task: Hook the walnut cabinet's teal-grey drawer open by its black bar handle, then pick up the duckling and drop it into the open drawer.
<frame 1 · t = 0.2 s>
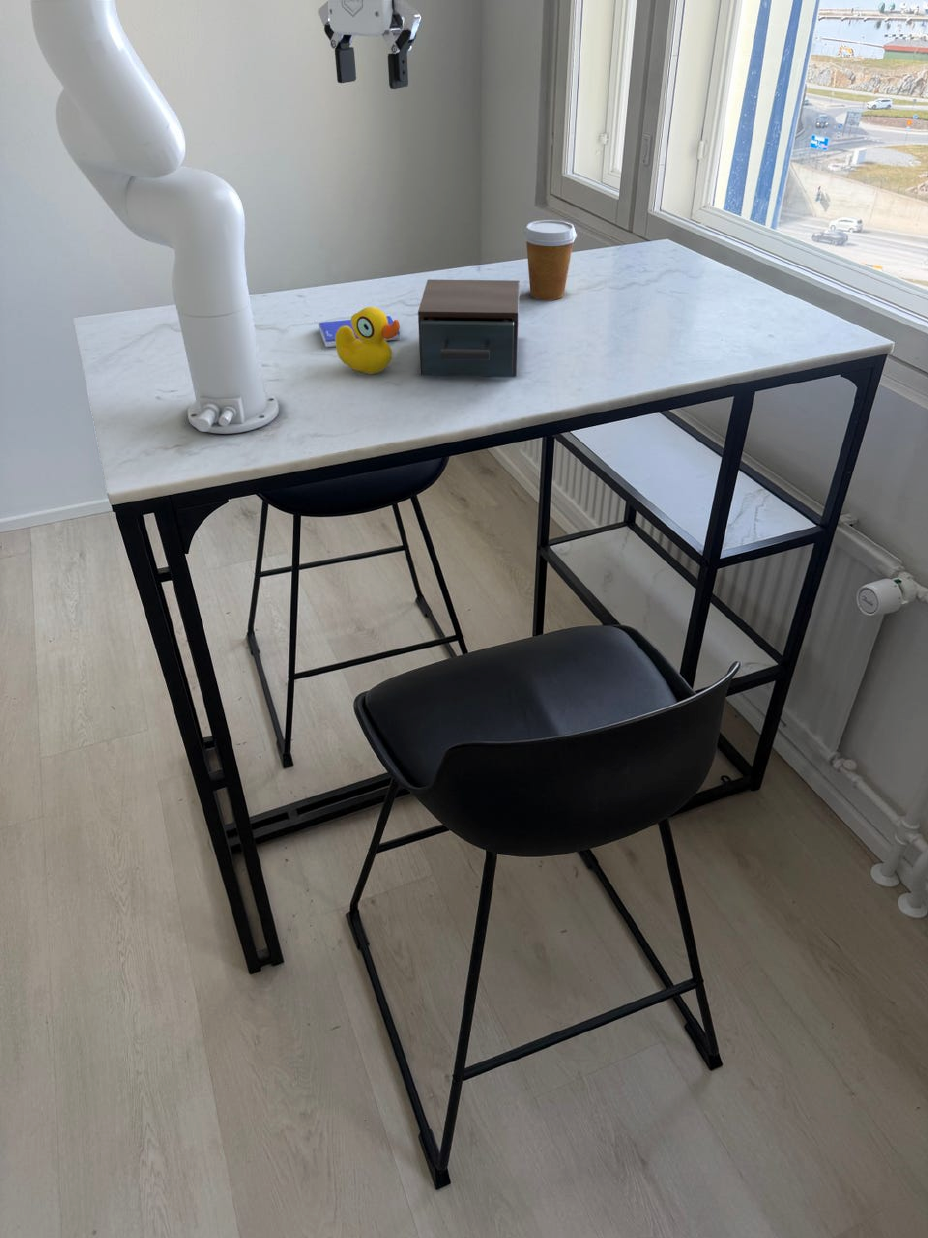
hand: (372, 84, 120), 37 cm above the table, tool pointing down, fingers open, 9 cm apart
drawer: (468, 339, 132), point 5 cm above the table, slide at 1.0 cm
hard drive: (359, 336, 147), on the table
cabinet: (471, 356, 139), on the table
duckling: (369, 372, 135), on the table
disposable coffee cup: (546, 295, 162), on the table
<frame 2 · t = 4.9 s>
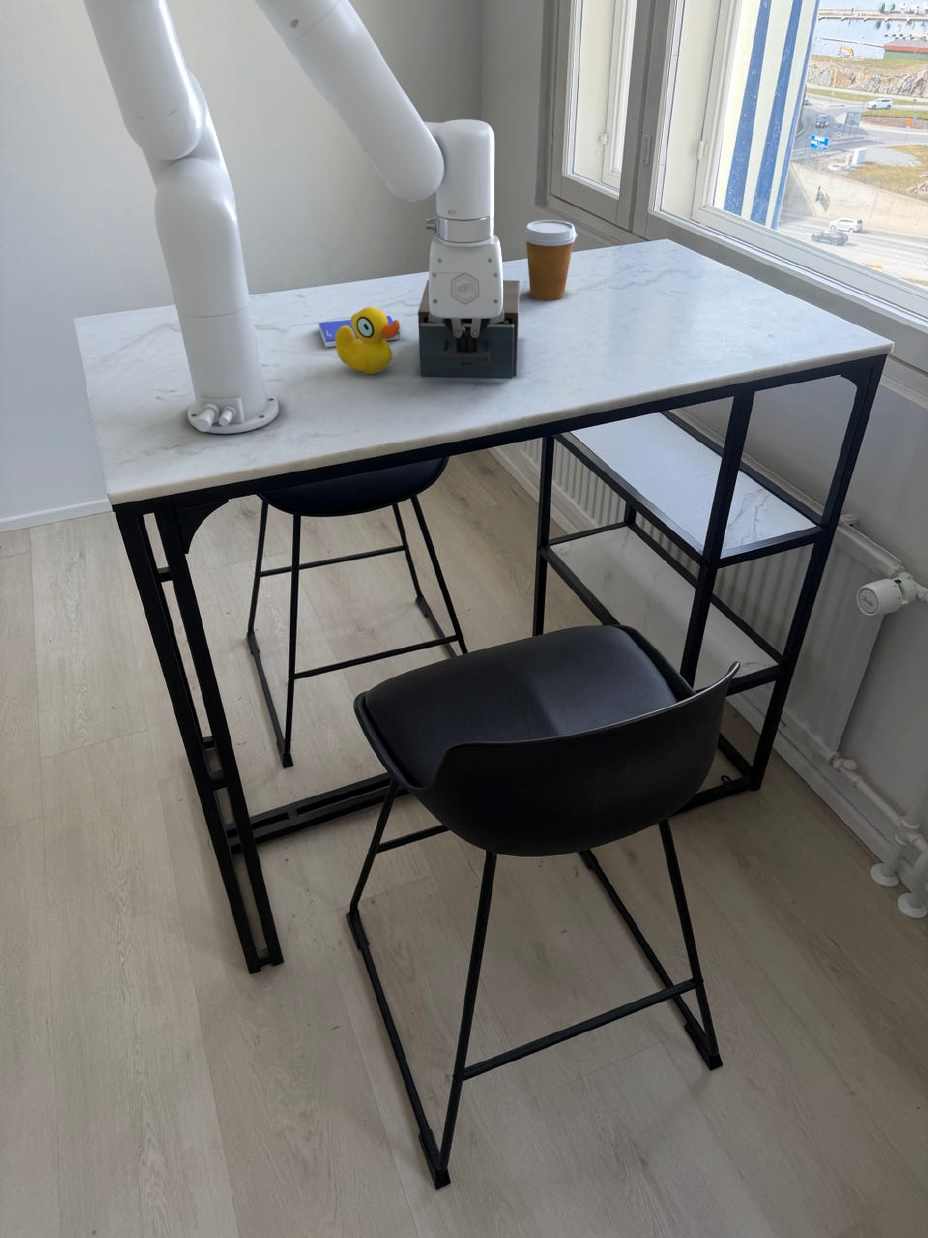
hand: (467, 360, 126), 5 cm above the table, tool pointing down, fingers closed
drawer: (468, 341, 131), point 5 cm above the table, slide at 1.9 cm
everything else where it was.
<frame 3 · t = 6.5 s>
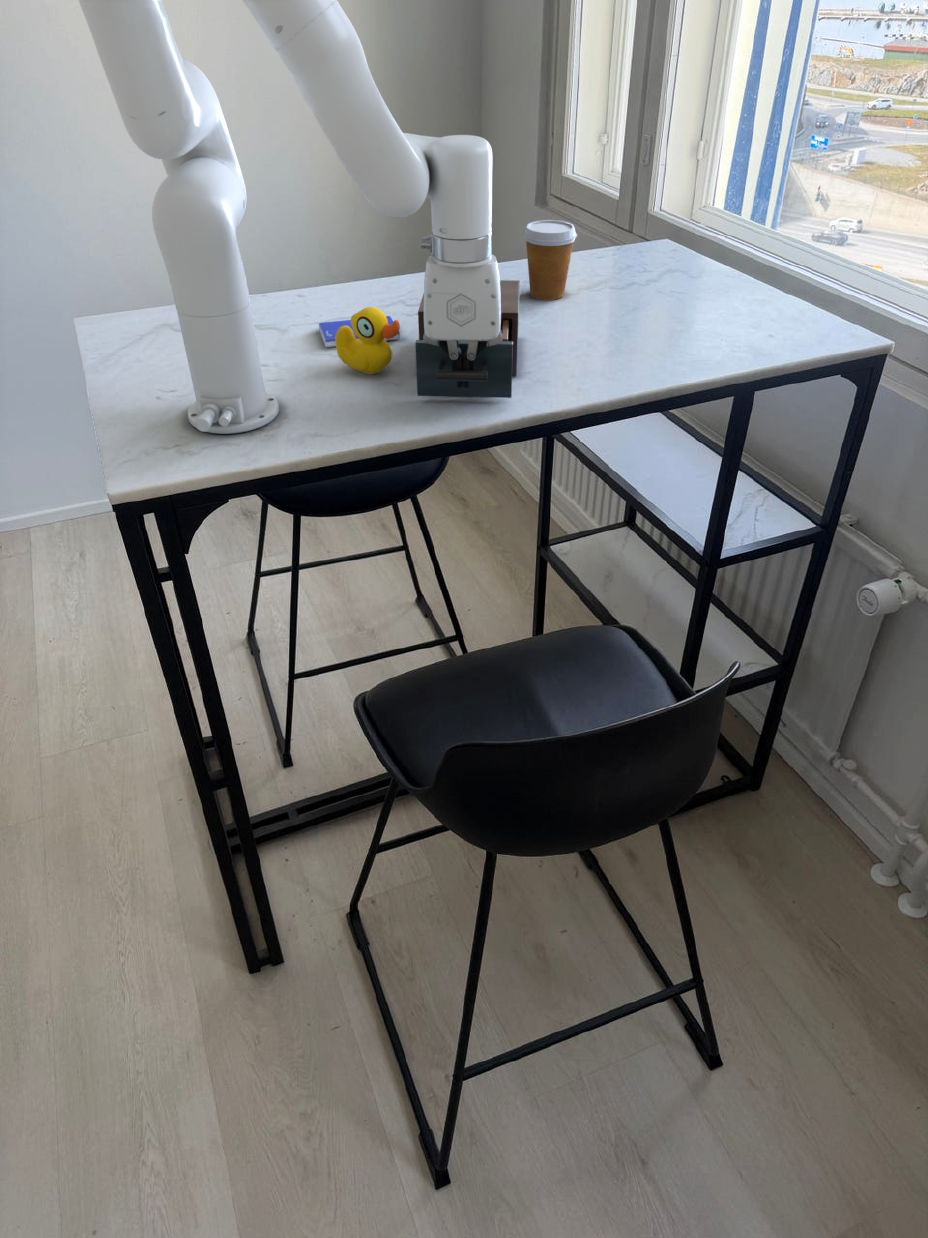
hand: (463, 383, 121), 4 cm above the table, tool pointing down, fingers closed
drawer: (465, 359, 126), point 5 cm above the table, slide at 8.6 cm, touching gripper
everything else where it was.
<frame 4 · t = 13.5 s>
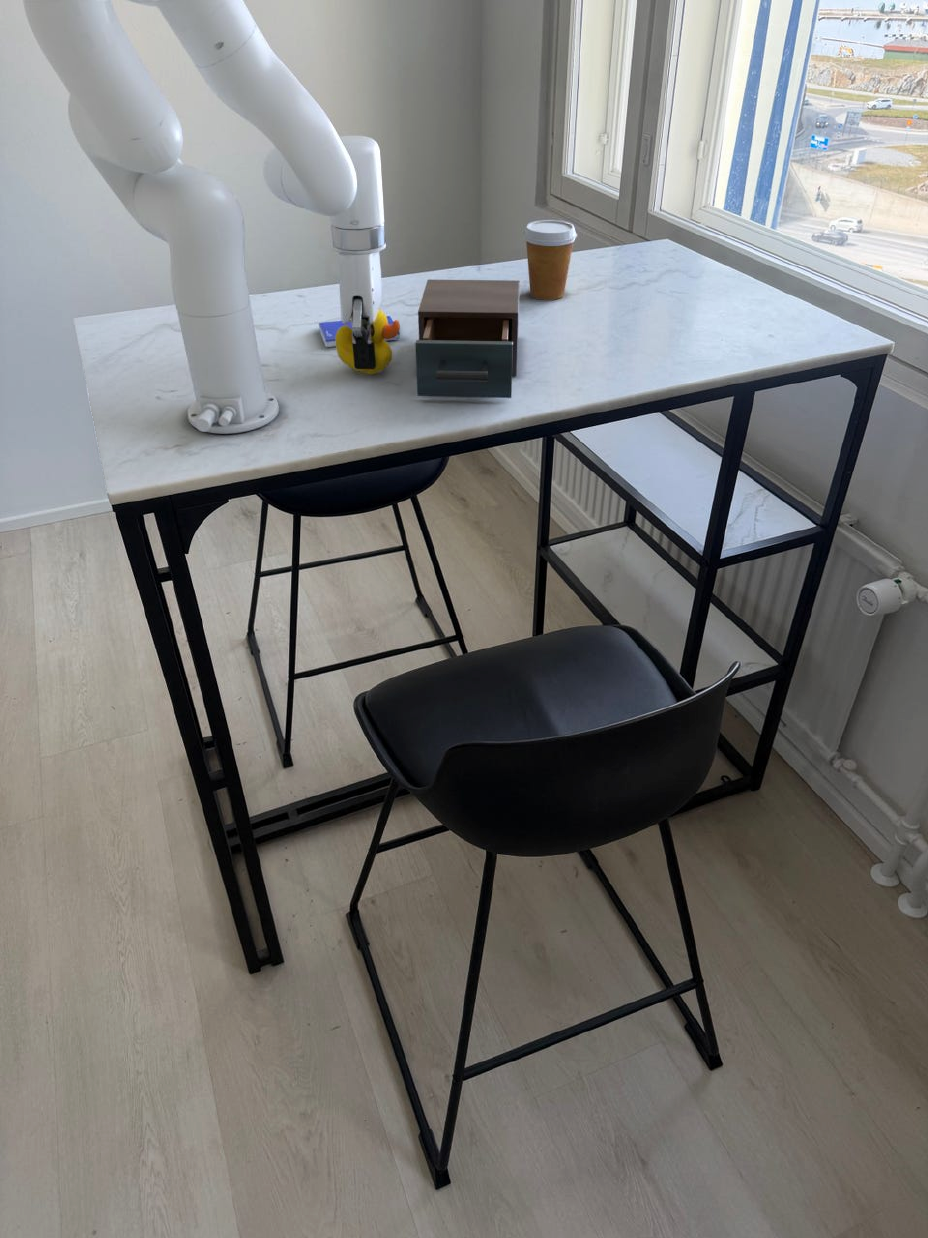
hand: (368, 358, 133), 2 cm above the table, tool pointing down, fingers closed on duckling, 6 cm apart
drawer: (465, 359, 126), point 5 cm above the table, slide at 8.6 cm
duckling: (369, 373, 135), on the table, touching gripper
everything else where it was.
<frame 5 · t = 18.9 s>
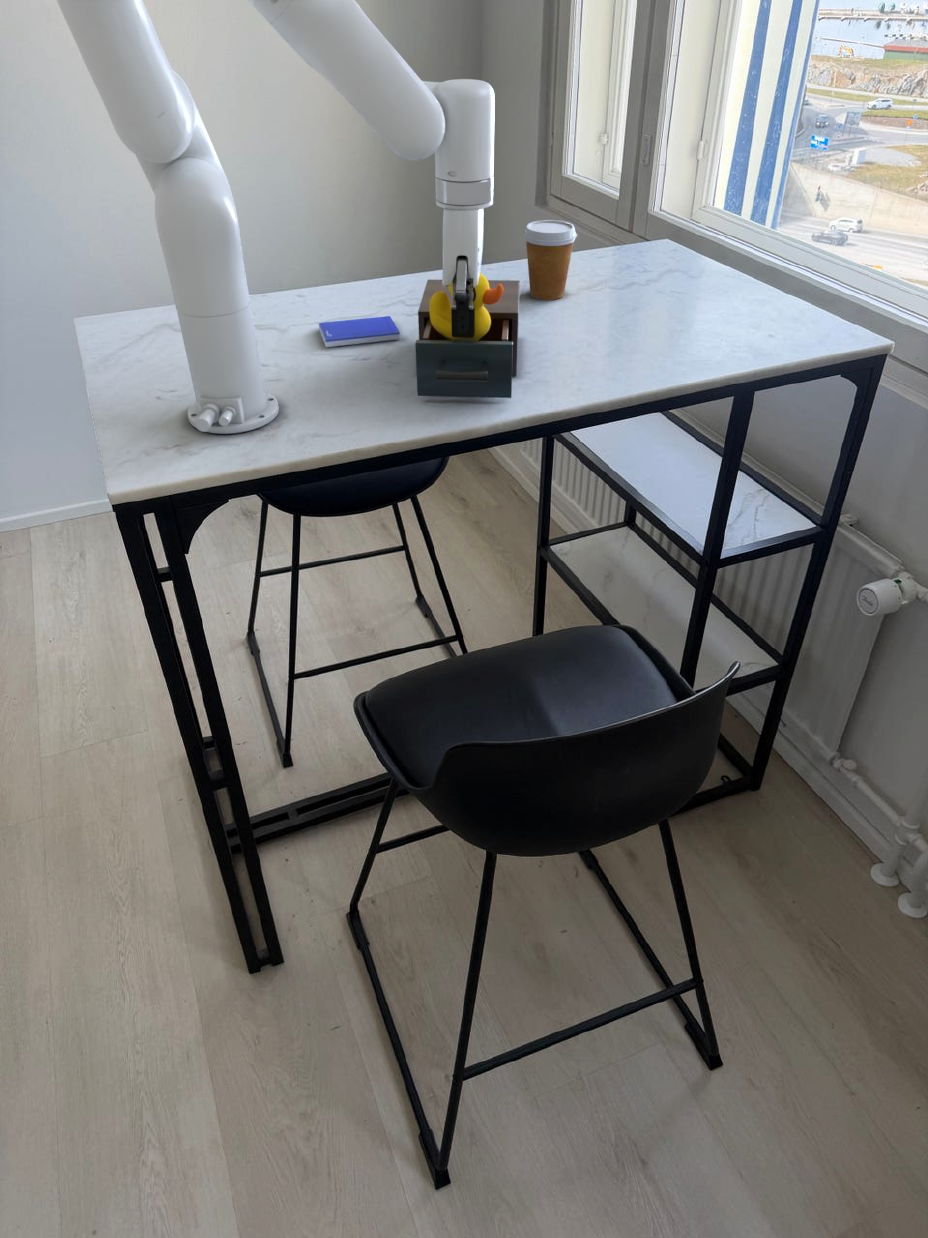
hand: (464, 326, 124), 9 cm above the table, tool pointing down, fingers closed on duckling, 6 cm apart
duckling: (464, 342, 125), point 7 cm above the table, touching gripper
everything else where it was.
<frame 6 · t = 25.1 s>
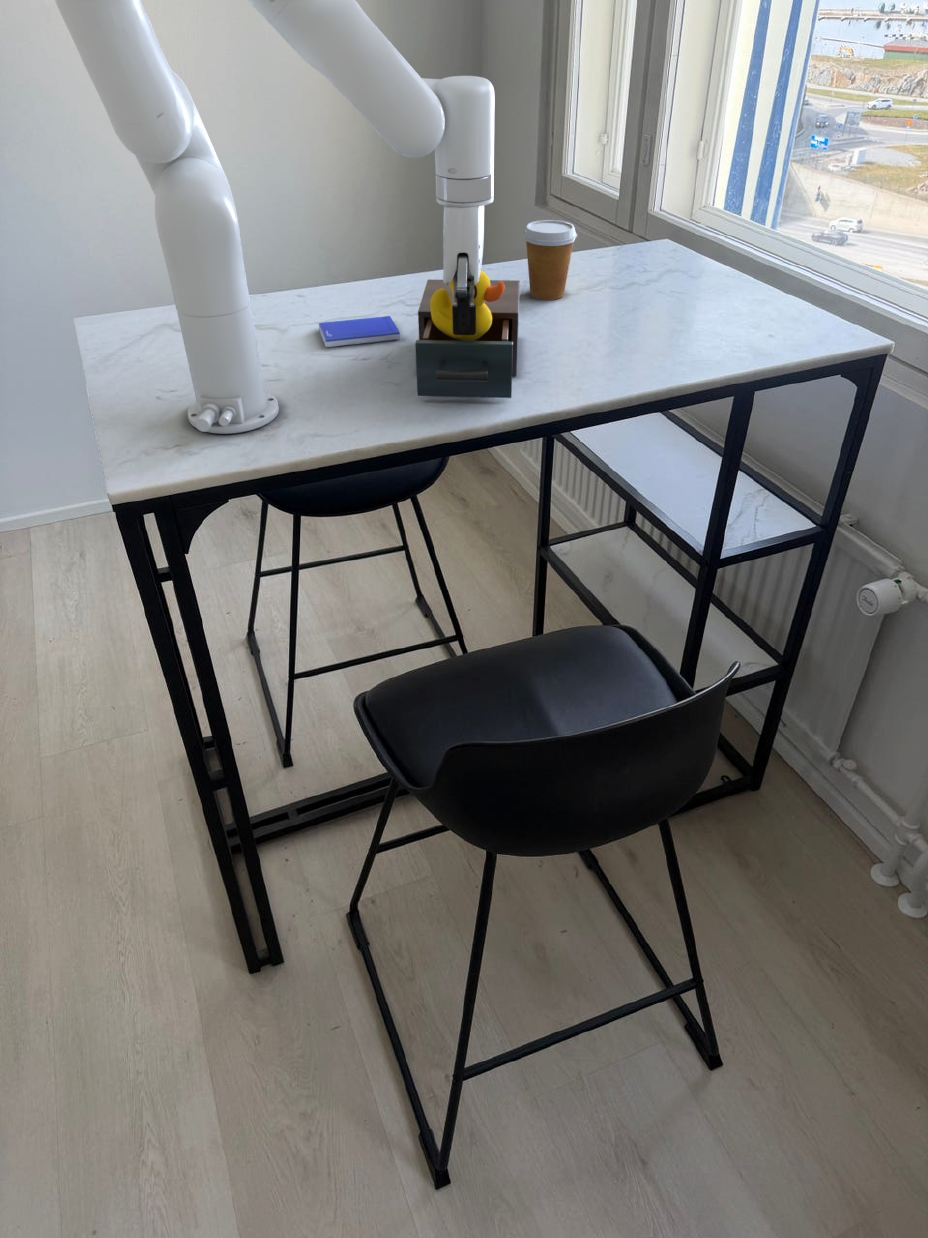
hand: (465, 324, 124), 10 cm above the table, tool pointing down, fingers closed on duckling, 5 cm apart
duckling: (465, 340, 125), point 7 cm above the table, touching gripper
everything else where it was.
when the fingers open (11 cm above the table, at t = 30.9 s): duckling drops 7 cm, resting on drawer.
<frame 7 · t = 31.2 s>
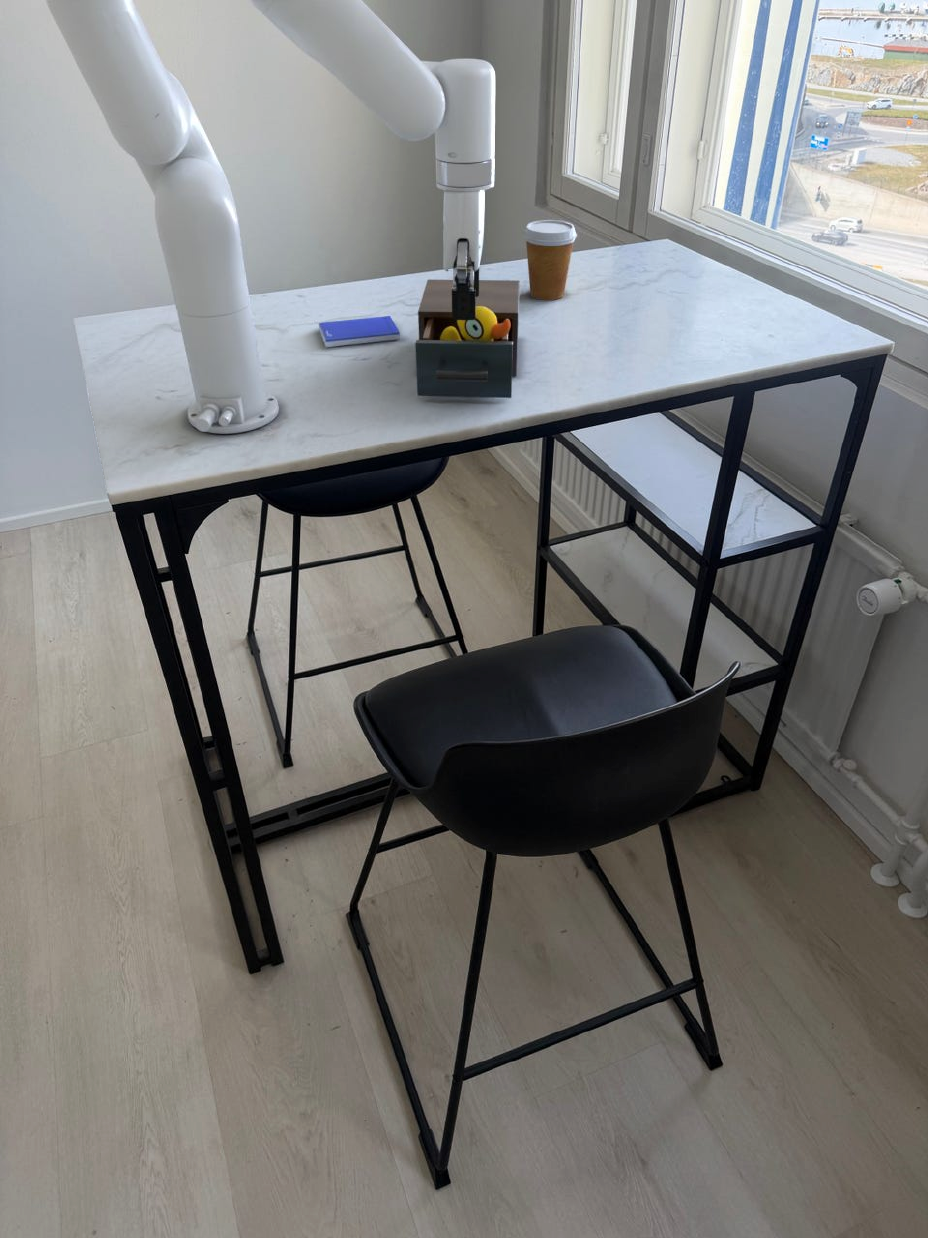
hand: (466, 307, 122), 12 cm above the table, tool pointing down, fingers open, 9 cm apart
drawer: (465, 359, 126), point 5 cm above the table, slide at 8.6 cm, touching duckling
duckling: (475, 375, 128), point 2 cm above the table, touching drawer
everything else where it was.
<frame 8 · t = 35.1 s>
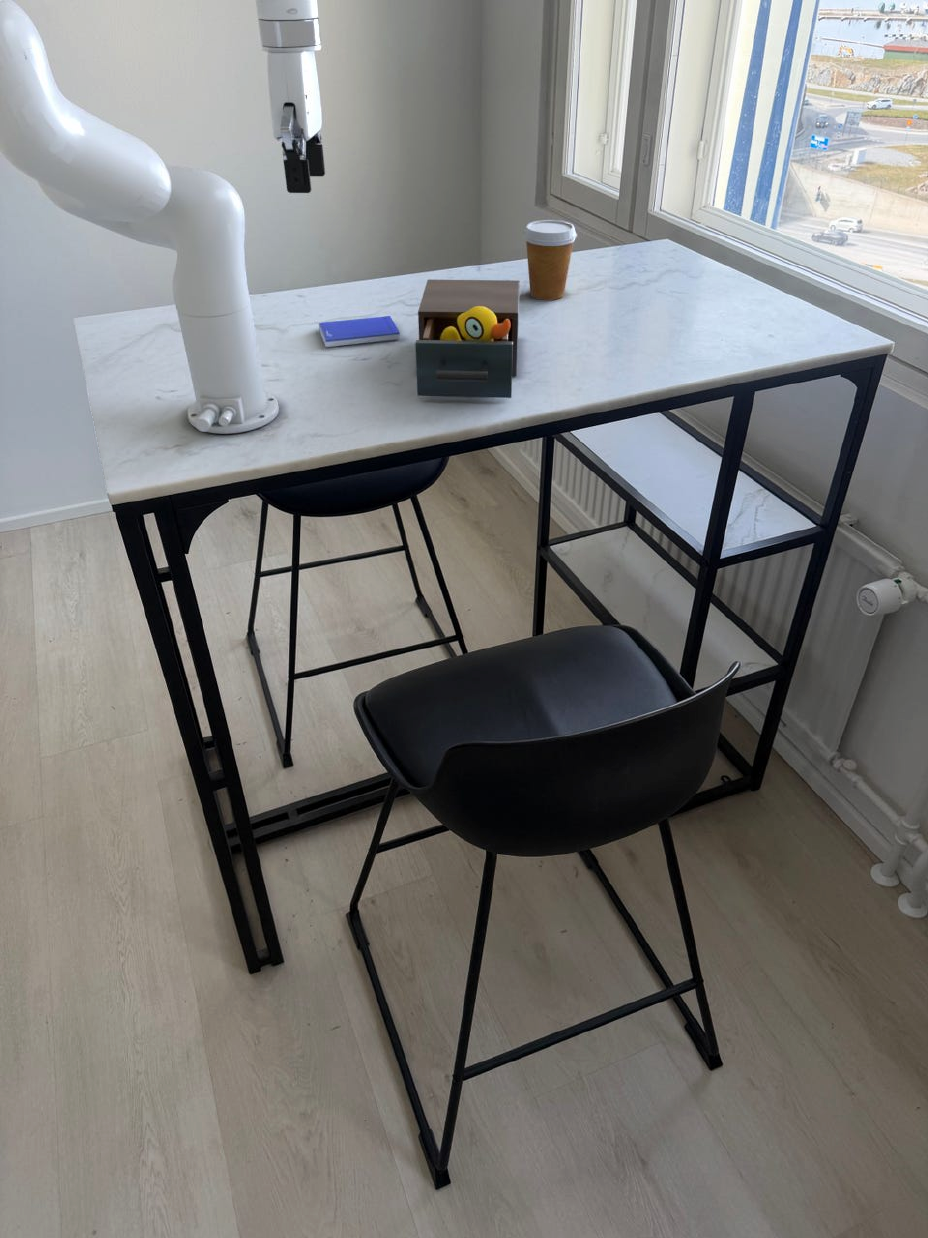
hand: (307, 183, 120), 26 cm above the table, tool pointing down, fingers open, 9 cm apart
nothing on the table moved.
at the end: drawer slide at 8.6 cm; duckling inside the target area in the drawer (1.8 cm from its centre), point 2.1 cm above the cabinet's base; duckling touching drawer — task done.
